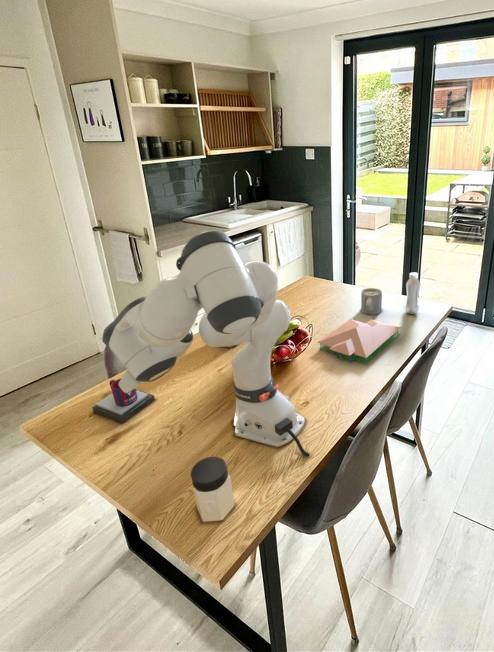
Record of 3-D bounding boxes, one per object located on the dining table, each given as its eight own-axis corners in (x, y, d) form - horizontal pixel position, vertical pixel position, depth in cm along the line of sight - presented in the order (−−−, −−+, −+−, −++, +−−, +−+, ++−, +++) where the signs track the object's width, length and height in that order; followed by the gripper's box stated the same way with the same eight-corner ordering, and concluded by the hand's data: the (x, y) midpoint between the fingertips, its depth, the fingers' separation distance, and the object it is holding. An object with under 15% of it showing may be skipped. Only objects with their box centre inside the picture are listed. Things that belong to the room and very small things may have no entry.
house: (313, 352, 162) (312, 334, 159) (355, 322, 186) (355, 306, 183) (362, 368, 149) (362, 349, 146) (400, 334, 174) (401, 317, 171)
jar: (193, 523, 92) (184, 485, 87) (200, 494, 99) (193, 457, 94) (232, 520, 92) (225, 482, 87) (236, 491, 100) (231, 455, 95)
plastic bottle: (403, 309, 197) (405, 271, 189) (417, 309, 196) (420, 271, 188) (404, 315, 191) (406, 275, 184) (419, 315, 190) (421, 276, 183)
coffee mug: (366, 305, 204) (366, 286, 201) (384, 308, 200) (384, 289, 196) (355, 314, 194) (355, 295, 190) (374, 318, 189) (374, 299, 185)
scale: (155, 400, 136) (153, 393, 135) (123, 423, 125) (121, 416, 124) (126, 390, 142) (124, 383, 141) (93, 412, 131) (91, 405, 130)
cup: (122, 409, 127) (117, 391, 125) (106, 398, 133) (101, 381, 130) (141, 398, 132) (137, 381, 130) (125, 388, 138) (120, 372, 135)
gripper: (179, 334, 124) (162, 355, 132) (123, 367, 108) (108, 389, 115) (192, 350, 124) (174, 369, 132) (139, 385, 107) (122, 405, 115)
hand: (143, 379), depth 124 cm, fingers open, 8 cm apart
